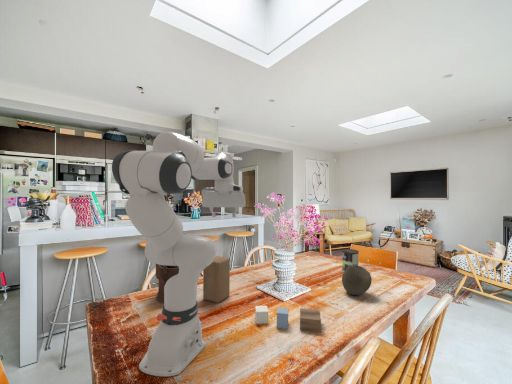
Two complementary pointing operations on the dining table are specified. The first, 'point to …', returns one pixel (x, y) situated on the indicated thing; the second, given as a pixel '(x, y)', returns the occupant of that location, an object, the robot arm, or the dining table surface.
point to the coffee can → (349, 258)
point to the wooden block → (217, 280)
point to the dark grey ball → (356, 280)
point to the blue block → (282, 318)
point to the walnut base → (310, 320)
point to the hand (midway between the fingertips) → (223, 217)
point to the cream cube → (261, 314)
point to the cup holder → (164, 278)
